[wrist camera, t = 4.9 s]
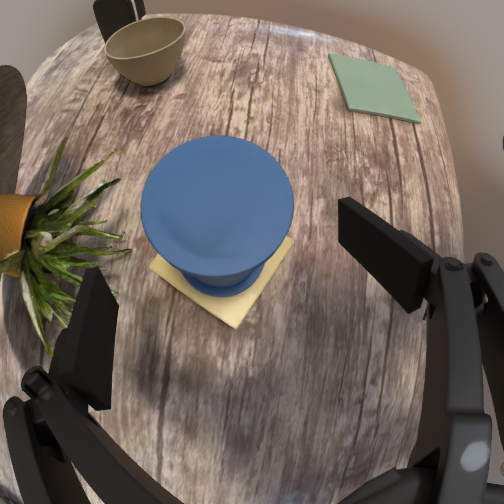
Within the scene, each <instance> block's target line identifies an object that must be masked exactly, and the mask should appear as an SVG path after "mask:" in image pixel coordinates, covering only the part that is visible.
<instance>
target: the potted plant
mask: <svg viewBox="0 0 504 504" xmlns="http://www.w3.org/2000/svg"><path fill="white" fill-rule="evenodd" d="M26 108H27V93H26V87H25V83H24V80H23V77H22V75H21V73H20V72H19V71H18V70H17V69H16V68H14V67H12V66H9V65H2V66H0V280H1V273H5V274H8V275H11V276H14V277H16V278H17V279H18V280H20V286H21V293H22V297H23V301H24V303H25V306H26V308H27V310H28V313H29V315H30V318H31V320H32V323H33V325H34V328H35V330H36V332H37V334H38V336H39V337H40V339H41V341H42V343H43V344H44V346H45V348H46V351H47V353H48V355H49V357H50V358H51V360H52V356H53V348H52V347H50V345H49V343H48V342H47V340H46V337H45V335H44V331H43V325H42V323H41V317H40V314H39V313H41V314H42V315H43V316H44V317H45V319H46V320H47V322H48V323H51V322H52V320H55V321H56V322H58V323H59V324H60V325H61V326H62V327H64V328H67V327H68V326H67V325H66V324H65V322H64V321H63V320H62V318H61V317H59V316H58V315H57V314H56V312H55V311H54V310H53V309H52V308H51V307H50V305H49V304H48V303H47V302H46V301H48V302H50V303H51V304H52V305H54V307H56V308H57V309H58V311H59V312H60V313H61V314H62V315H63V317H64V318H65V319H66V320H67V322H69V321H70V317H71V314H72V310H70V309H69V308H67V307H66V306H67V305H68V304H67V303H69V304H72V302H74V303H75V301H76V300H75V299H73V298H72V297H71V296H70V295H68V294H67V293H65V292H64V291H62V290H60V287H59V283H58V278H57V276H58V277H60V278H62V279H64V280H66V281H68V282H70V283H72V284H74V285H76V286H79V287H80V285H81V283H82V280H83V278H82V277H80V276H77V275H75V274H73V273H71V272H69V271H68V268H69V267H70V266H80V267H84V268H93V267H96V265H94V264H100V262H93V261H92V262H88V261H86V260H83V259H78V258H75V257H73V256H75V255H79V254H90V255H113V254H119V253H126V252H129V251H132V249H124V250H120V251H111V252H109V251H108V252H103V251H104V250H107V249H110V248H112V246H110V248H109V247H106V248H96V249H91V248H86V247H79V246H77V245H75V244H73V243H69V242H68V241H67V240H66V239H68V238H70V237H71V236H72V235H74V236H75V235H88V236H99V237H102V238H110V239H114V240H121V239H122V238H123V235H124V234H125V231H122V233H123V235H120V236H119V235H116V234H110V233H105V232H102V231H98V230H96V229H93V228H90V227H88V226H86V225H93V224H99V223H106V222H107V220H105V221H96V222H80V221H78V220H79V218H80V217H81V216H82V215H84V214H85V213H86V212H87V211H88V210H89V209H90V208H91V207H94V208H96V206H95V205H94V204H95V203H96V201H97V200H98V199H99V197H100V196H101V194H102V193H103V190H104V189H106V188H108V187H109V186H112V185H115V184H116V183H118V182H119V181H120V180H121V179H120V178H118V179H115V180H113V181H112V182H109V183H107V177H106V178H105V179H104V180H103V181H102V182H101V183H100V184H99V185H98V186H97V187H96V188H95V189H94V190H93V191H91V192H90V193H89V194H87V195H85V196H84V197H82V198H80V199H78V200H77V201H76V202H74V203H73V204H72V205H68V206H64V205H65V204H66V203H68V202H69V201H70V200H71V199H72V198H73V197H74V193H75V191H74V190H72V189H73V188H75V187H76V186H77V185H78V184H79V183H80V182H82V181H83V180H84V179H86V178H87V177H88V176H89V175H91V174H92V173H93V172H94V171H96V170H97V169H98V168H99V167H100V166H101V165H102V164H103V163H104V160H102V161H101V162H99V163H97V164H95V165H94V166H92V167H91V168H89V169H87V170H86V171H84V172H83V173H81V174H80V175H78V176H76V177H75V178H73V179H72V180H70V181H69V182H68V183H66V184H65V185H63V186H62V187H60V188H59V189H58V190H57V191H56V192H55V194H54V195H53V196H52V197H51V198H50V199H49V201H48V202H47V203H46V204H45V205H44V206H43V204H44V203H45V202H46V201H47V199H48V197H49V195H50V187H51V185H52V181H53V178H54V175H55V172H56V170H57V166H58V163H59V160H60V158H61V154H62V151H63V148H64V146H65V144H66V143H67V141H68V137H66V138H65V139H64V140H63V141H62V143H61V144H60V145H59V147H58V148H57V151H56V153H55V155H54V157H53V159H52V161H51V163H50V165H49V168H48V170H47V173H46V176H45V178H44V181H43V183H42V185H41V188H40V190H39V192H38V194H37V195H36V196H29V195H19V194H15V190H16V184H17V178H18V171H19V164H20V158H21V153H22V145H23V140H24V130H25V120H26ZM114 151H117V149H115V150H114ZM113 154H114V152H111V153H110V154H109V155H108V156H107V157H106V158H105V160H106V159H108V158H109V157H110V156H112V155H113ZM71 190H72V191H71ZM65 195H66V196H65ZM64 196H65V197H64ZM42 206H43V207H42ZM41 207H42V208H41ZM76 221H78V222H76ZM118 248H120V246H114V247H113V249H118ZM113 249H111V250H113ZM98 267H99V269H100V270H104V267H101V266H98ZM63 268H64V269H63ZM111 292H112V294H113V295H115V296H117V295H119V294H118V293H117V292H114V291H112V290H111ZM42 295H43V296H44V297H45V299H44V297H43V296H42ZM45 300H46V301H45ZM66 302H67V303H66ZM68 307H70V308H72V306H71V305H68Z"/></svg>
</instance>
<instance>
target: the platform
mask: <svg viewBox="0 0 504 504" xmlns="http://www.w3.org/2000/svg"><path fill="white" fill-rule="evenodd" d="M293 243H294V240H293V239H291V238H290V237H288V236H287V235H286V237H285V239H284V241H283V242H282V244H281V245H280V247H279V248H278V249H277V251H276V252H275V253H274V255H273V256H272V257H271V258H270V259H269V260H268V261H267V262H266V263H265V265H264V268H263V270H262V272H261V274H260V276H259V277H258V279H257V280H256V281H255V282H254V283H253V284H252V285H251V286H250V287H249V288H248V289H246V290H245V291H243V292H241V293H239V294H237V295H234V296H230V297H214V296H209V295H206V294H204V293H202V292H200V291H198V290H197V289H195V288H194V287H193V286H192V285H191V284H190V283H189V282H188V281H187V280H186V279H185V278H184V276H183V275H182V273H181V271H179V270H178V269H176V268H174V267H173V266H172V265H170V264H169V263H168V262H167V261H166V260H165V259H164V258H163V257H162V256H161V255H160V254H159V253H158V254H157V255H156V257H155V258H154V260H153V261H152V262H151V264H150V265H149V268H150V269H151V270H152V271H154V272H155V273H156V274H157V275H159V276H160V277H161V278H163V279H164V280H166V281H167V282H168V283H170V284H171V285H172V286H174V287H175V288H176V289H178V290H179V291H180V292H182V293H183V294H185V295H186V296H187V297H189V298H190V299H192V300H193V301H194V302H196V303H197V304H199V305H200V306H202V307H203V308H204V309H206V310H207V311H209V312H210V313H212V314H213V315H215V316H216V317H217V318H219V319H220V320H222V321H223V322H225V323H226V324H228V325H229V326H231V327H232V328H234V329H237V328H238V327H239V325H240V324H241V322H242V321H243V319H244V318H245V316H246V315H247V313H248V312H249V310H250V309H251V307H252V306H253V304H254V303H255V301H256V300H257V298H258V297H259V295H260V294H261V292H262V291H263V289H264V288H265V286H266V285H267V283H268V282H269V280H270V279H271V277H272V276H273V274H274V273H275V271H276V270H277V268H278V267H279V265H280V263H281V262H282V260H283V259H284V257H285V256H286V254H287V253H288V251H289V250H290V248H291V246H292V245H293Z"/></svg>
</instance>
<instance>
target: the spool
mask: <svg viewBox="0 0 504 504" xmlns="http://www.w3.org/2000/svg"><path fill="white" fill-rule="evenodd" d="M293 211H294V197H293V192H292V187H291V185H290V182H289V179H288V177H287V175H286V173H285V171H284V170H283V168H282V167H281V165H280V164H279V163H278V162H277V161H276V159H275V158H274V157H273V156H271V155H270V154H269V153H268V152H267V151H265V150H264V149H262V148H261V147H259V146H257V145H256V144H254V143H252V142H249V141H246V140H244V139H240V138H236V137H230V136H207V137H202V138H197V139H194V140H191V141H188V142H186V143H184V144H182V145H180V146H178V147H177V148H175V149H173V150H172V151H171V152H169V153H168V154H167V155H165V156H164V157H163V158H162V159H161V160H160V161H159V162H158V164H157V165H156V166H155V167H154V169H153V170H152V172H151V174H150V175H149V177H148V179H147V181H146V184H145V186H144V190H143V193H142V199H141V218H142V223H143V227H144V230H145V233H146V235H147V237H148V239H149V241H150V243H151V244H152V246H153V247H154V249H155V250H156V251H157V252H158V253H159V254H160V255H161V256H162V257H163V258H164V259H165V260H166V261H167V262H168V263H169V264H170V265H172V266H173V267H174V268H176V269H178V270H179V271H181V273H182V275H183V276H184V278H185V279H186V280H187V281H188V282H189V283H190V284H191V285H192V286H193V287H194V288H195V289H197V290H198V291H200V292H202V293H204V294H206V295H209V296H214V297H230V296H234V295H237V294H239V293H241V292H243V291H245V290H246V289H248V288H249V287H250V286H251V285H252V284H253V283H254V282H255V281H256V280H257V279H258V277H259V276H260V274H261V272H262V270H263V268H264V265H265V263H266V262H267V261H268V260H269V259H270V258H271V257H272V256H273V255H274V253H275V252H276V251H277V249H278V248H279V247H280V245H281V244H282V242H283V241H284V239H285V237H286V235H287V233H288V231H289V228H290V226H291V222H292V218H293Z"/></svg>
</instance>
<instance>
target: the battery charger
mask: <svg viewBox="0 0 504 504" xmlns="http://www.w3.org/2000/svg"><path fill="white" fill-rule="evenodd" d="M93 10H94V13H95V17H96V20H97V23H98V26H99V29H100V31H101V34H102V36H103V39H104V41H105V44H106V42H107V40H108V39H109V38H110V37H111V36H112V35H113V34H114V33H116V32H117V31H118V30H120V29H121V28H123V27H125V26H127V25H129V24H131V23H133V22H136V21H139V20H142V19H141V18H142V17H143V16H144V15H145V13H146V12H145V7H144V2H143V0H96V1H95V2H94V4H93Z"/></svg>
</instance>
